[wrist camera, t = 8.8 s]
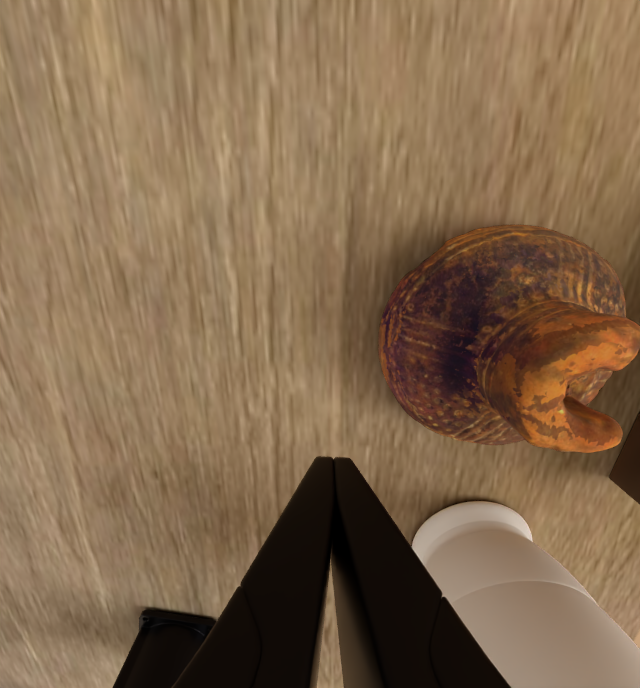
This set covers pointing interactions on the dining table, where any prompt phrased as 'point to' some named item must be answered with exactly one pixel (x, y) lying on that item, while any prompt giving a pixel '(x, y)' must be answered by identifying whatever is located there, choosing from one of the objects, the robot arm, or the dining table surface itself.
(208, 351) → the dining table surface
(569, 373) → the brown clay pot
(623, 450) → the bar
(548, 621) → the jar
